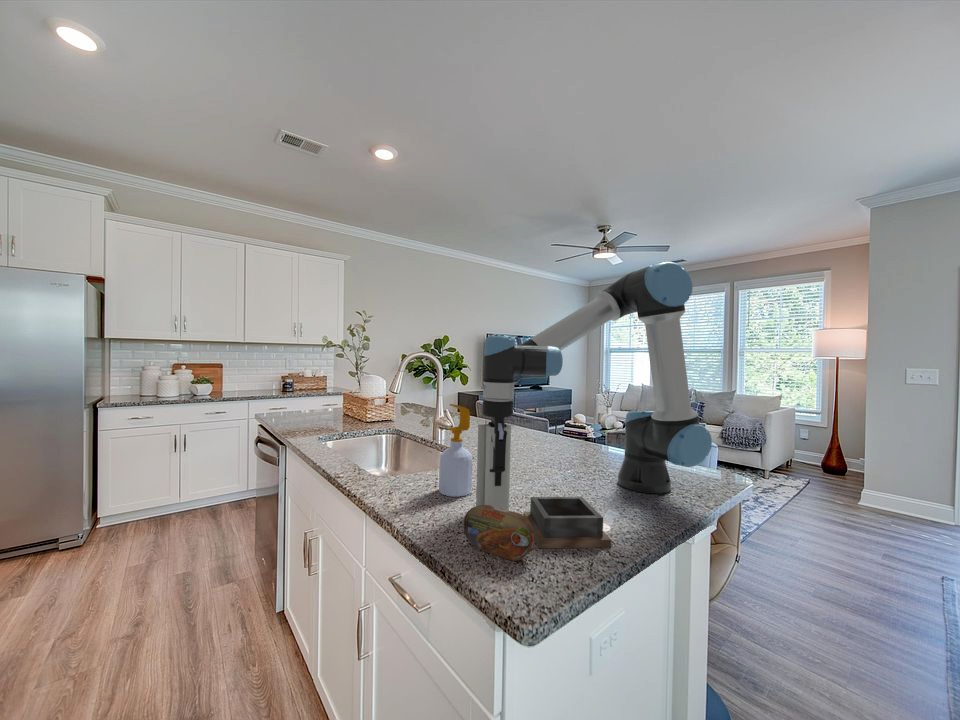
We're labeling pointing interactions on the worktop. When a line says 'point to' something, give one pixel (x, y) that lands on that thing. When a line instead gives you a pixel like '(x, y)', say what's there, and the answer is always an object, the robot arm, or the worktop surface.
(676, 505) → the worktop surface
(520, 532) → the tin
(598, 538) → the open box on board
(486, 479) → the paper towel roll
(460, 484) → the soap bottle
